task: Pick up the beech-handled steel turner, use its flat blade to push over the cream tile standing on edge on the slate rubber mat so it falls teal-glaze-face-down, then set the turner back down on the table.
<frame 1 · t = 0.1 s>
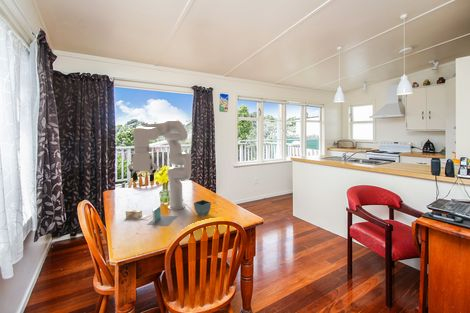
hand: (143, 180, 125), 31 cm above the table, tool pointing down, fingers open, 9 cm apart
tile: (156, 220, 148), resting on mat
flower pot: (202, 215, 158), on the table
turner: (136, 218, 153), on the table
mat: (162, 221, 147), on the table
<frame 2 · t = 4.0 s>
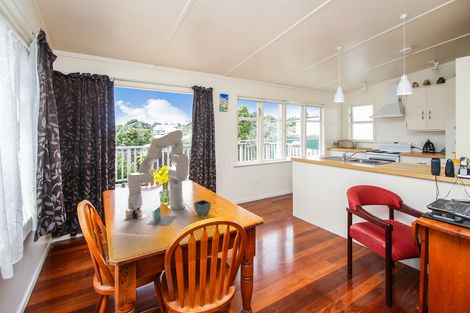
hand: (136, 217, 153), 0 cm above the table, tool pointing down, fingers closed on turner, 2 cm apart
turner: (136, 217, 153), on the table, touching gripper
everything else where it was.
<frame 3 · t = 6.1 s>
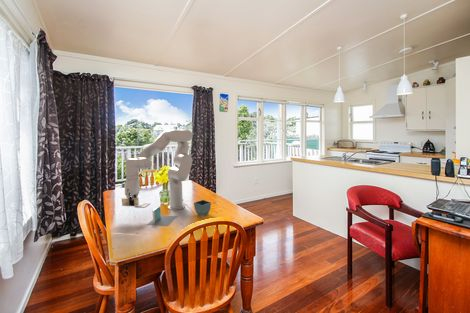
hand: (133, 204, 148), 11 cm above the table, tool pointing down, fingers closed on turner, 2 cm apart
turner: (133, 205, 148), point 10 cm above the table, touching gripper
everything else where it was.
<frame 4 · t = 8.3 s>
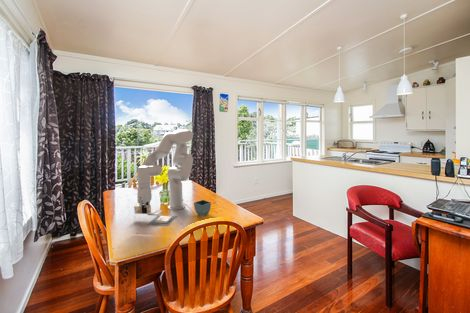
hand: (145, 212, 148), 6 cm above the table, tool pointing down, fingers closed on turner, 2 cm apart
tile: (158, 219, 147), point 1 cm above the table, tilted 90°, touching mat
turner: (145, 213, 148), point 5 cm above the table, touching gripper
everything else where it was.
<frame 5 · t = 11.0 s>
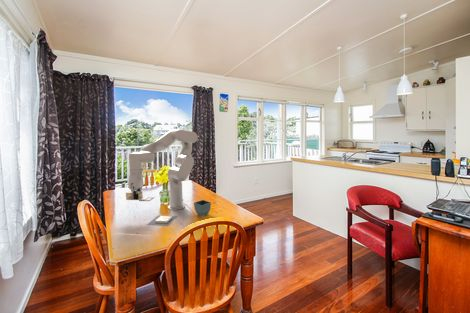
hand: (137, 198, 150), 14 cm above the table, tool pointing down, fingers closed on turner, 2 cm apart
turner: (137, 199, 150), point 13 cm above the table, touching gripper
everything else where it was.
when the fingers open (2 cm above the table, at t = 13.6 s): turner drops 1 cm, on the table.
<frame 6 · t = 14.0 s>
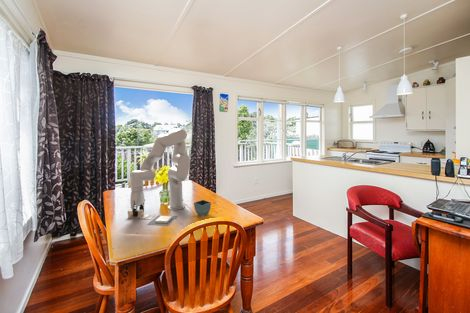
hand: (138, 214, 153), 2 cm above the table, tool pointing down, fingers open, 7 cm apart
turner: (138, 217, 154), on the table
everything else where it was.
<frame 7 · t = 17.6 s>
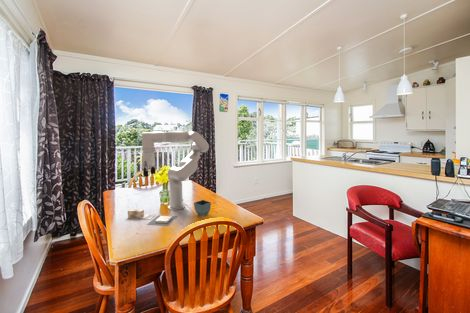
hand: (149, 175, 155), 28 cm above the table, tool pointing down, fingers open, 9 cm apart
nothing on the table moved.
at the end: tile tilted 90°; tile inside the target area (3.6 cm from its centre), point 1.2 cm above the table; turner touching table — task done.
